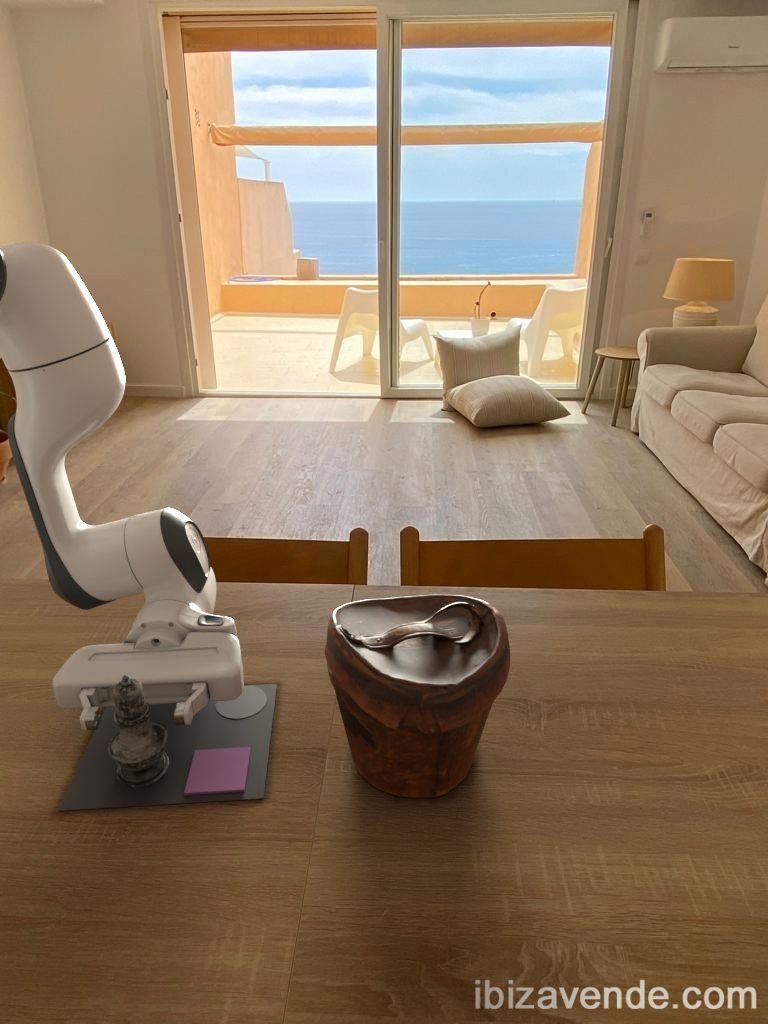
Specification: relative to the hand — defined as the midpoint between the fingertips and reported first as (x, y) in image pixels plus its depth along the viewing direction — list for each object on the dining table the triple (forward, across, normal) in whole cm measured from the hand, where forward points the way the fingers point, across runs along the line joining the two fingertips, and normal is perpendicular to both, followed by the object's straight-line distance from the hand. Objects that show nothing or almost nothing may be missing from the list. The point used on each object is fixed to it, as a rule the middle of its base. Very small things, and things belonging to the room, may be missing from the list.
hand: (135, 722), depth 71 cm
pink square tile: (+1, +8, +6) cm, 10 cm away
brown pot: (0, +29, +6) cm, 30 cm away
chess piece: (0, 0, +6) cm, 6 cm away
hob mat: (-4, +3, +6) cm, 8 cm away
